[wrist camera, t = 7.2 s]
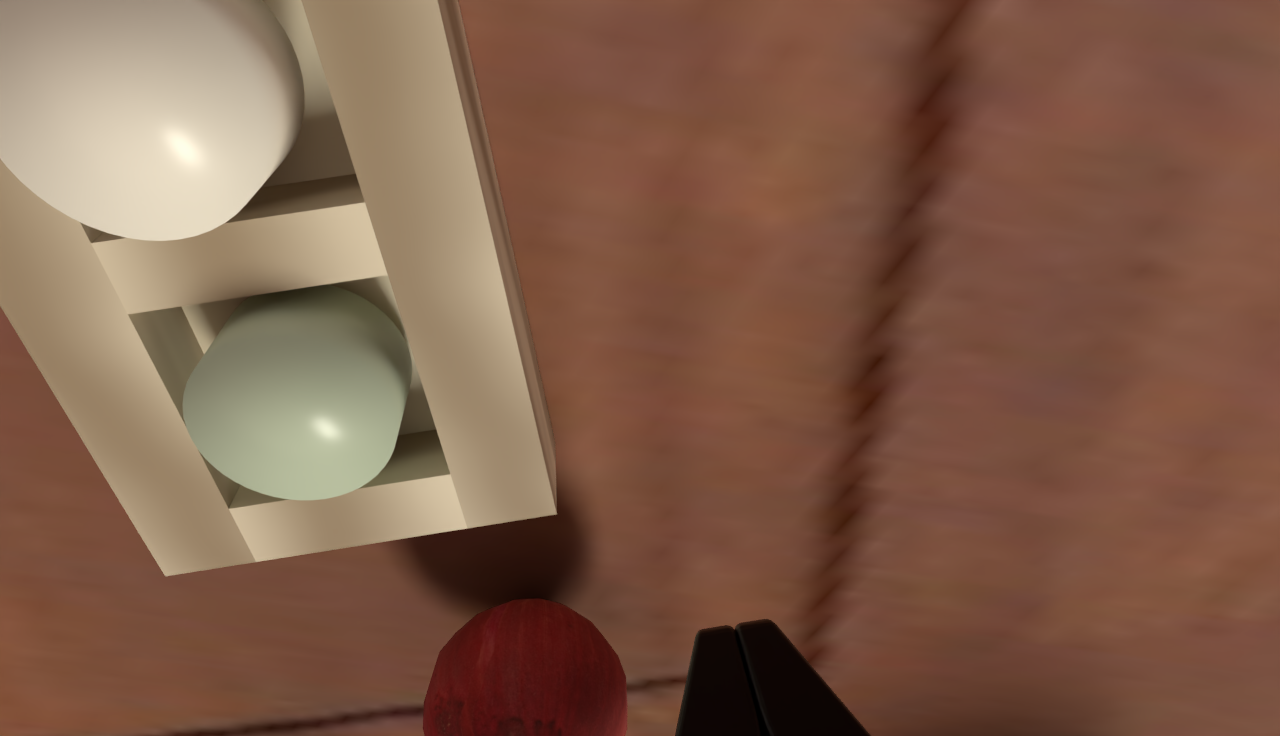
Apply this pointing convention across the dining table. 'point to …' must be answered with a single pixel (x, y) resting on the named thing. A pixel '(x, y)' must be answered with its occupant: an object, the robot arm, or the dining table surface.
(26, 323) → the wooden compartment tray
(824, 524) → the dining table surface
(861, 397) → the dining table surface
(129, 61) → the button cream
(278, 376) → the button sage
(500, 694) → the onion
